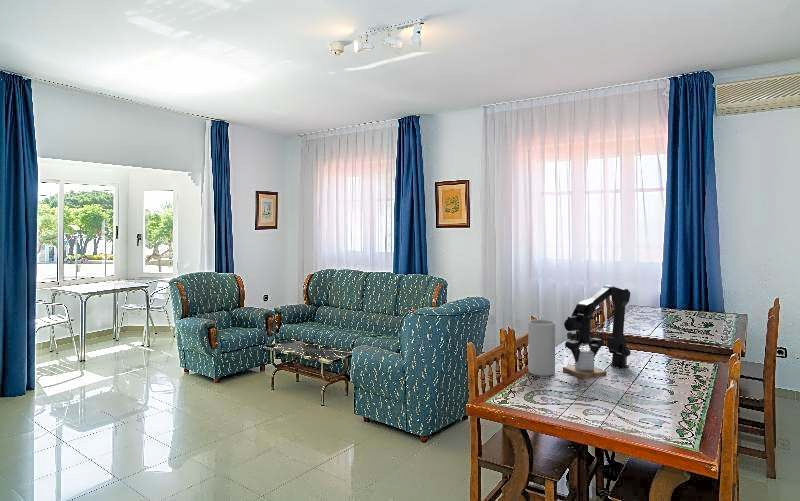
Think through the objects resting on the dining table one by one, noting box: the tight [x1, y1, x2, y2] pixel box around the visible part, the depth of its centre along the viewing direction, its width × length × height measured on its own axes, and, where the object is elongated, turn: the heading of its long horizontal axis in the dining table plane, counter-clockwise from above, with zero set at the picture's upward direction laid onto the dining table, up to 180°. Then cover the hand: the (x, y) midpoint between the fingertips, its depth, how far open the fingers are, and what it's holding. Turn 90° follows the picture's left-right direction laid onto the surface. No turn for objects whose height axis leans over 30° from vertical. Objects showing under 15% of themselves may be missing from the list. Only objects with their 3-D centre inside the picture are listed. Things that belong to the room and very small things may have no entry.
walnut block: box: [562, 364, 608, 380], centre depth 233 cm, size 14×14×2 cm
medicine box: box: [574, 350, 595, 370], centre depth 233 cm, size 8×4×9 cm, turn 85°
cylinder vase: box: [527, 318, 556, 377], centre depth 235 cm, size 12×12×25 cm
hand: (584, 361), depth 233 cm, fingers open, 9 cm apart
